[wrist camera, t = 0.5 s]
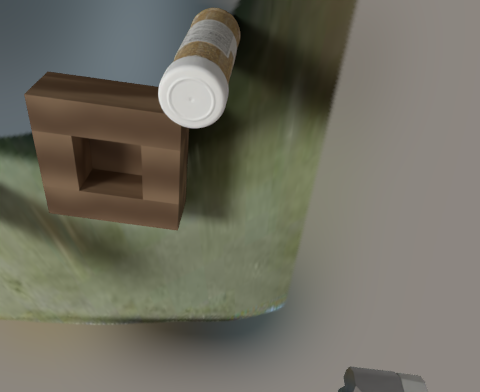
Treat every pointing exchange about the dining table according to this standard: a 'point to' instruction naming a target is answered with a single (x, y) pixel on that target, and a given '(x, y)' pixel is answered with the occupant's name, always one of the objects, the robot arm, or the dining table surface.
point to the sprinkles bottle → (201, 70)
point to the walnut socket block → (108, 150)
